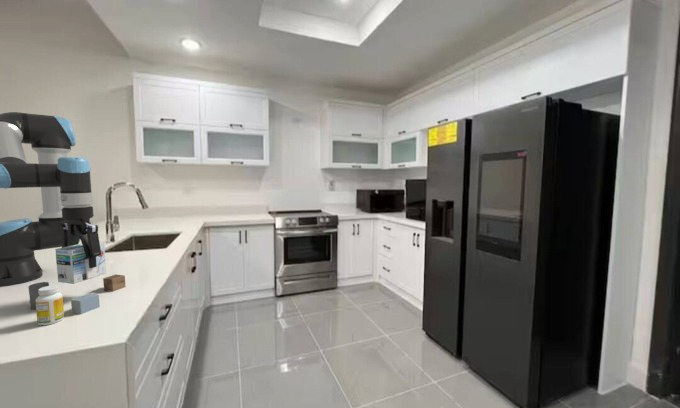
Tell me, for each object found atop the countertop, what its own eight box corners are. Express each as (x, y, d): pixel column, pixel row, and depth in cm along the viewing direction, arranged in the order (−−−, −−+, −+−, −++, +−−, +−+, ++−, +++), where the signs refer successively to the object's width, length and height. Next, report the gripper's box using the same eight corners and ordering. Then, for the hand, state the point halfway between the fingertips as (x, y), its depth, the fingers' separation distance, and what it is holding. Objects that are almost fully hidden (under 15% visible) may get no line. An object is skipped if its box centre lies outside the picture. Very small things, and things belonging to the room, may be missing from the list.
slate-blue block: (72, 312, 88) (70, 299, 87) (90, 305, 93) (89, 293, 92) (81, 314, 87) (80, 301, 86) (99, 307, 91) (98, 294, 91)
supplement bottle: (38, 328, 79) (35, 293, 78) (36, 321, 82) (33, 288, 81) (66, 320, 83) (63, 287, 82) (63, 314, 86) (60, 282, 85)
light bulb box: (74, 284, 91) (71, 250, 90) (56, 282, 93) (53, 249, 91) (107, 273, 102) (105, 242, 101) (91, 271, 103) (89, 241, 102)
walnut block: (104, 290, 105) (103, 278, 105) (116, 286, 109) (115, 274, 109) (113, 291, 104) (112, 279, 103) (125, 287, 108) (124, 275, 108)
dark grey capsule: (27, 308, 91) (24, 286, 90) (45, 302, 95) (42, 281, 94) (36, 310, 89) (34, 287, 89) (54, 304, 93) (52, 282, 93)
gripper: (42, 206, 94) (48, 276, 96) (86, 208, 88) (92, 283, 91) (69, 203, 101) (75, 269, 104) (112, 206, 95) (117, 275, 98)
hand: (83, 275), depth 97 cm, fingers closed on light bulb box, 7 cm apart
